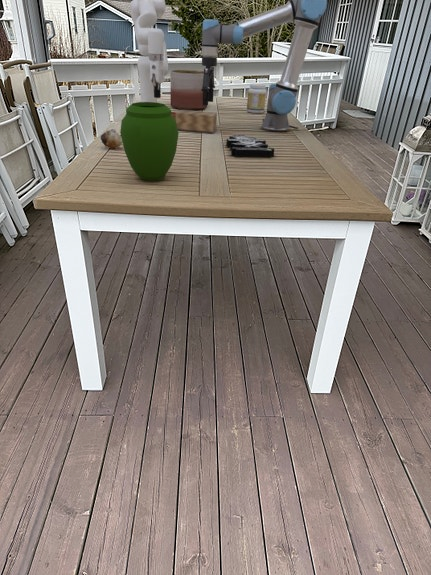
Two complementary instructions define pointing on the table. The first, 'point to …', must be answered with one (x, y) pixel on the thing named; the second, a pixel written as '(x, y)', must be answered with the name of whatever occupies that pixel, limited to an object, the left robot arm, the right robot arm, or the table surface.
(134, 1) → the left robot arm
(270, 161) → the table surface
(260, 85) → the supplement tub
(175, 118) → the drawer
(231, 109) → the table surface
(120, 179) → the table surface
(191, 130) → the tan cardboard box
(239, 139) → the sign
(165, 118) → the vase
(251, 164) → the table surface
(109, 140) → the seashell
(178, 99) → the planter
